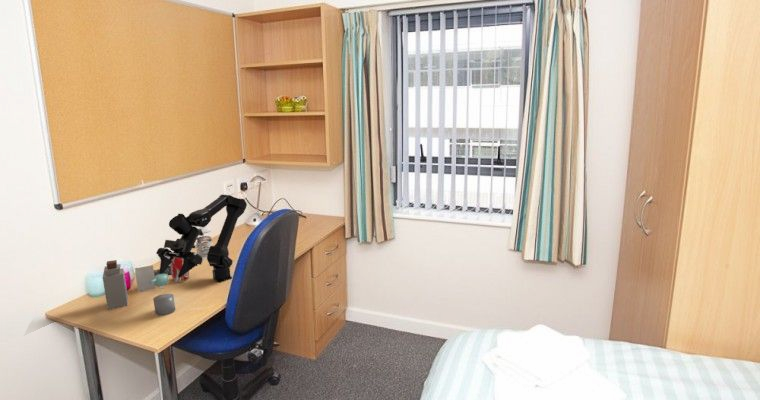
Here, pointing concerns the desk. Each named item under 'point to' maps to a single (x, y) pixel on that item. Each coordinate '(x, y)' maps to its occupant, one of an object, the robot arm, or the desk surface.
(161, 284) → the pump head
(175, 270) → the soda can
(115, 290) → the perfume bottle
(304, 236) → the desk surface
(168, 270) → the calculator
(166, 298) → the grey rounded lump
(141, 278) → the grey rectangular block
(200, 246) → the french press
